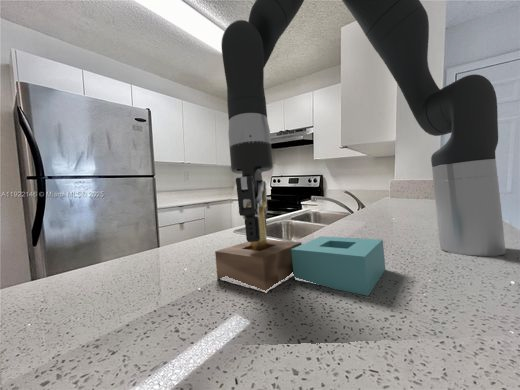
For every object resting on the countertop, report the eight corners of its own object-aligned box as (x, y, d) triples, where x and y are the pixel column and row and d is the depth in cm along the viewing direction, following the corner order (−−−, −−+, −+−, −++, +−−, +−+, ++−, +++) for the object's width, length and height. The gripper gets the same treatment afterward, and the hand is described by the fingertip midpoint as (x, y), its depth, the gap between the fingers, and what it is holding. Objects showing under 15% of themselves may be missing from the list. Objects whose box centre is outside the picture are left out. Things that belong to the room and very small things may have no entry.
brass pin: (260, 269, 41) (254, 202, 41) (276, 273, 38) (270, 201, 39) (245, 276, 38) (239, 203, 38) (262, 280, 35) (256, 202, 36)
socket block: (323, 261, 43) (320, 236, 43) (385, 269, 36) (382, 239, 36) (294, 280, 34) (291, 249, 35) (368, 295, 27) (364, 256, 27)
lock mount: (258, 262, 46) (256, 238, 46) (303, 269, 39) (301, 242, 39) (217, 279, 38) (215, 251, 38) (265, 293, 30) (262, 258, 31)
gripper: (264, 130, 31) (274, 245, 31) (275, 150, 45) (282, 229, 45) (215, 137, 32) (224, 247, 32) (240, 155, 46) (247, 231, 46)
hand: (257, 236), depth 38 cm, fingers open, 6 cm apart
